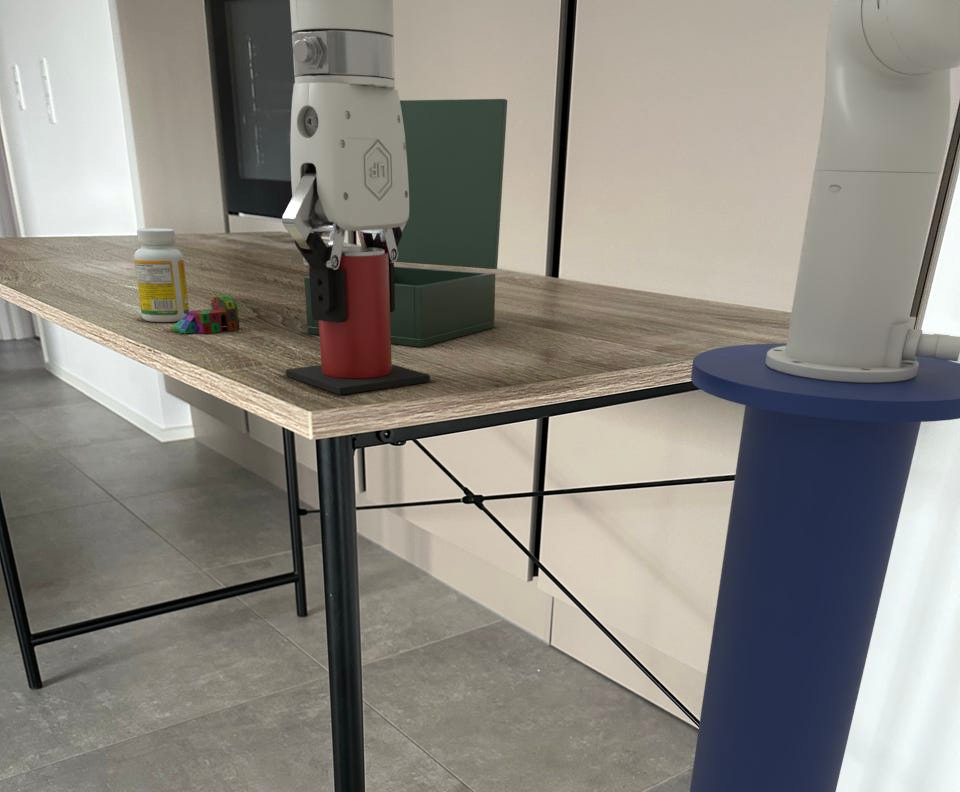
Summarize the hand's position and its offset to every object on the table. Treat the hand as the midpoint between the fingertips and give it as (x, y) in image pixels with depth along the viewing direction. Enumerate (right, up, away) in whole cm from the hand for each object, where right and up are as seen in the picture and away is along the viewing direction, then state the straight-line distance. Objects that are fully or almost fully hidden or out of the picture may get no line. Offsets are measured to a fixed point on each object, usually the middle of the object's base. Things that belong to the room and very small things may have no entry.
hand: (354, 313), depth 79 cm
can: (0, -4, +2) cm, 5 cm away
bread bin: (+2, +7, +26) cm, 27 cm away
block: (-20, +6, +24) cm, 32 cm away
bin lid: (+6, +23, +26) cm, 35 cm away
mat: (0, -5, +2) cm, 5 cm away
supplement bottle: (-26, +10, +30) cm, 41 cm away
